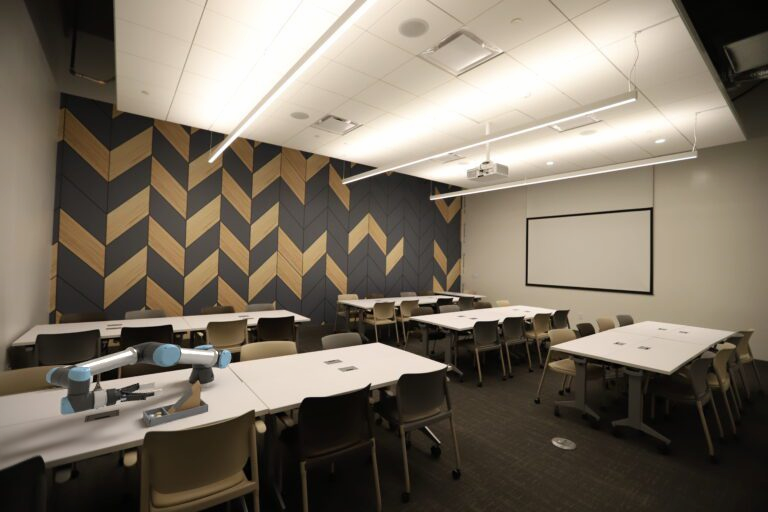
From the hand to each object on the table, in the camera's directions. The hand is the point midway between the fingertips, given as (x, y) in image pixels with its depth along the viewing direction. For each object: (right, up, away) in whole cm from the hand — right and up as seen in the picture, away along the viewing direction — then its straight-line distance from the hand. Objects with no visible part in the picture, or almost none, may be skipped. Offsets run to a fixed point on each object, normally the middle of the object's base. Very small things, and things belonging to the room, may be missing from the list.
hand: (157, 388), depth 181 cm
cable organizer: (-78, -14, +42) cm, 89 cm away
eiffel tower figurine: (-55, -15, +31) cm, 65 cm away
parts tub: (+6, -16, +5) cm, 18 cm away
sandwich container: (+8, -16, +8) cm, 20 cm away
